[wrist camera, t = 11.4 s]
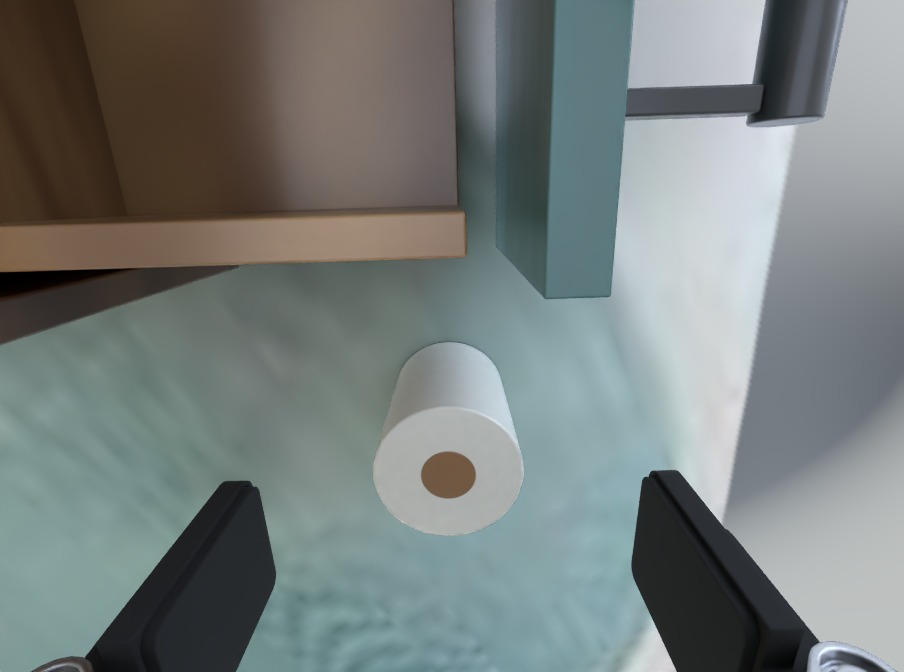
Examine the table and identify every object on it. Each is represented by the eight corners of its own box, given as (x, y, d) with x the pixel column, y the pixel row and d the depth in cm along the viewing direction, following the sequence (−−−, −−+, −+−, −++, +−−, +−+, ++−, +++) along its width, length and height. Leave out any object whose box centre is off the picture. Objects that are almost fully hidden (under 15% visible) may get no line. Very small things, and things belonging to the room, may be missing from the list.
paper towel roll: (501, 436, 20) (522, 535, 14) (400, 439, 20) (379, 539, 14) (502, 339, 18) (526, 405, 12) (392, 342, 18) (365, 409, 13)
